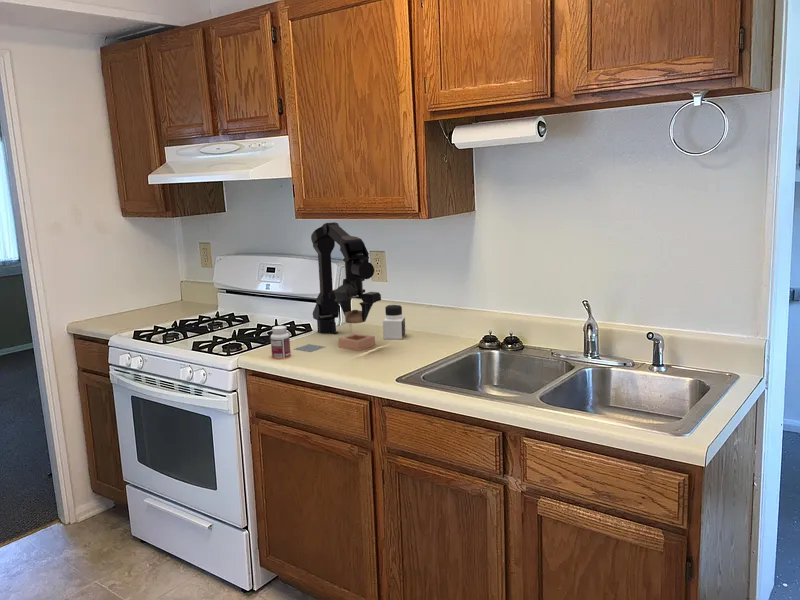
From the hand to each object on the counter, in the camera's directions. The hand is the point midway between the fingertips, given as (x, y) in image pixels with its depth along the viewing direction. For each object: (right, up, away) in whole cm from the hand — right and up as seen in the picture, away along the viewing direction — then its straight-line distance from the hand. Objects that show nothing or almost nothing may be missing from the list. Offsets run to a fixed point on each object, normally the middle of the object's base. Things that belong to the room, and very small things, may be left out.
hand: (355, 320), depth 243 cm
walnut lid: (0, 0, 0) cm, 0 cm away
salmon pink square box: (0, -10, +2) cm, 10 cm away
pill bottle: (-24, -13, -9) cm, 29 cm away
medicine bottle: (+13, -7, +17) cm, 23 cm away
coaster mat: (-16, -11, +1) cm, 19 cm away
